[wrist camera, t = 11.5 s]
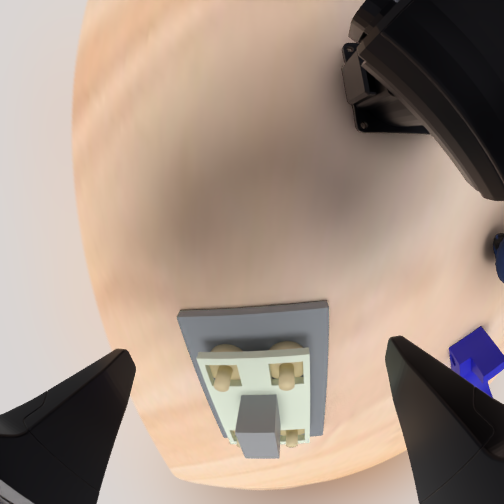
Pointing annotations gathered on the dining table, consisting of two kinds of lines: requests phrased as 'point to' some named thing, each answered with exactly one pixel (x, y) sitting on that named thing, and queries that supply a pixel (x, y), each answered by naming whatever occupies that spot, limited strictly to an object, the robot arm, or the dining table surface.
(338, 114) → the dining table surface
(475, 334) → the blue u-shaped cradle
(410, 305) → the dining table surface
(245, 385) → the board
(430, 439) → the robot arm
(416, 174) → the dining table surface
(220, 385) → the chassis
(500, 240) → the flashlight
